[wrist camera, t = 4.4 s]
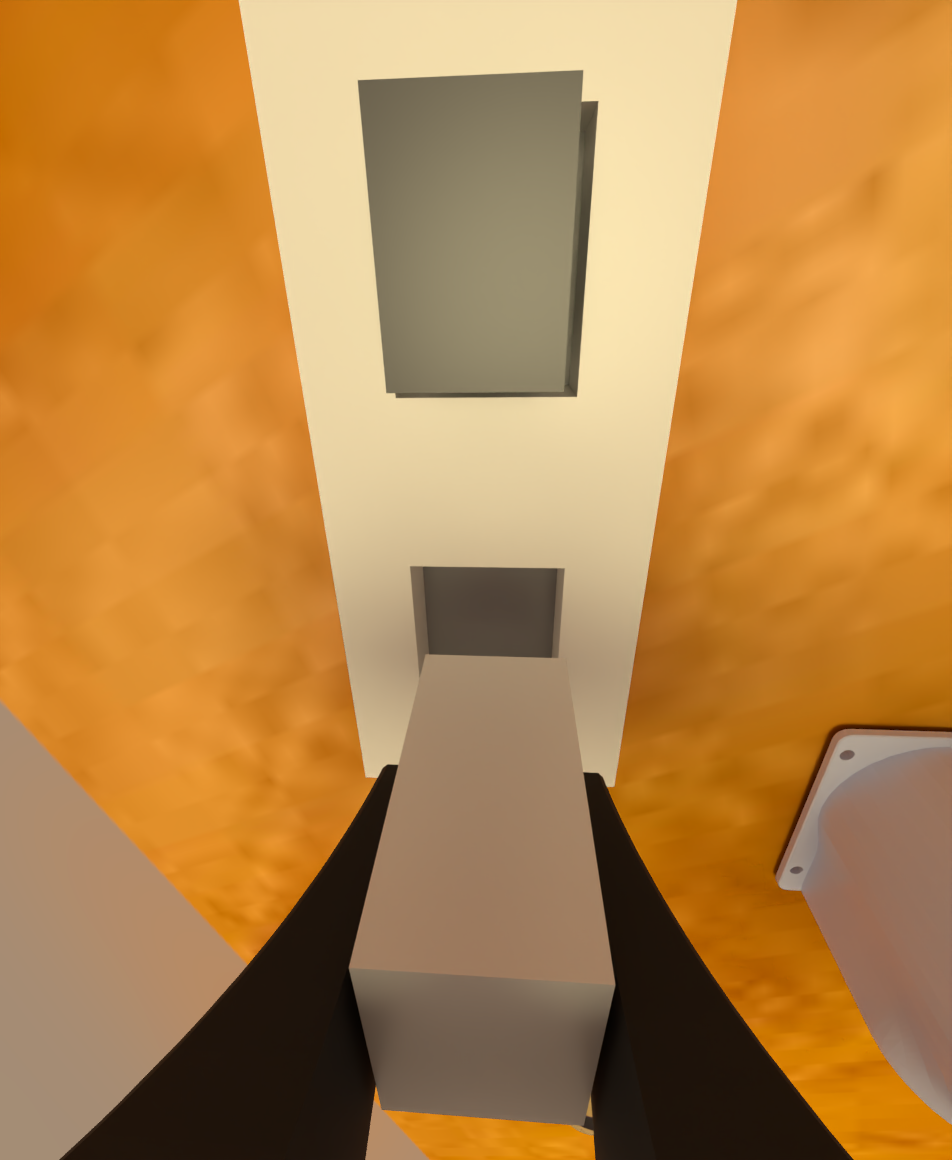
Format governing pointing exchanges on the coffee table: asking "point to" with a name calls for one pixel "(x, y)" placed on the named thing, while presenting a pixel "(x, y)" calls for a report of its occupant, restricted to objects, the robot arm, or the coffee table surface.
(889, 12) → the coffee table surface
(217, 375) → the coffee table surface
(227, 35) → the coffee table surface
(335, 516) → the power strip
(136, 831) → the coffee table surface
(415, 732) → the beige plug
